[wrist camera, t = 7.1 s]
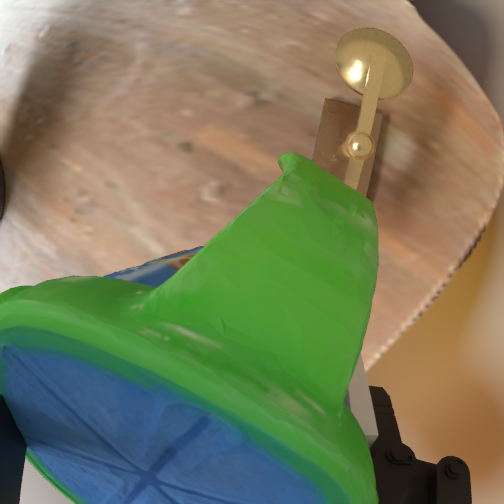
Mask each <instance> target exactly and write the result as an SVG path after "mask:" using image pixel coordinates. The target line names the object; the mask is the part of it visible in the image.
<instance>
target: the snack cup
mask: <svg viewBox="0 0 504 504" xmlns="http://www.w3.org/2000/svg"><path fill="white" fill-rule="evenodd" d="M278 163H279V166H280V168H281V169H282V171H283V174H282V176H281V177H280V178H279V179H278V180H277V181H276V182H275V183H273V184H272V185H270V186H269V187H268V188H267V189H266V190H265V191H264V192H263V193H262V194H261V195H259V196H258V197H257V198H256V199H255V200H254V201H253V202H252V203H251V204H250V205H249V206H248V207H247V208H246V209H244V210H243V211H242V212H241V213H240V214H239V215H238V216H237V217H236V218H235V219H234V220H233V221H232V222H230V223H229V224H228V225H227V226H226V227H225V228H224V229H223V230H221V231H220V232H219V233H218V234H217V235H216V236H215V237H214V238H212V239H211V240H210V241H209V242H208V243H207V244H206V245H205V246H200V247H196V248H194V249H191V250H184V251H180V252H177V253H174V254H171V255H168V256H164V257H161V258H158V259H155V260H152V261H149V262H146V263H144V264H143V265H141V266H137V267H132V268H127V269H125V270H122V271H118V272H114V273H112V274H109V275H106V276H103V277H98V276H69V277H64V278H58V279H52V280H47V281H44V282H42V283H39V284H37V285H35V286H18V287H14V288H11V289H9V290H6V291H4V292H2V293H0V394H1V395H2V396H3V398H4V400H5V402H6V404H7V406H8V408H9V410H10V412H11V414H12V416H13V418H14V420H15V422H16V425H17V427H18V428H19V430H20V431H21V433H22V435H23V437H24V439H25V442H26V445H27V451H26V457H25V458H26V459H27V460H28V461H29V462H30V463H31V465H33V467H34V468H35V469H36V470H37V471H38V472H39V473H40V474H41V475H42V476H43V477H44V478H45V479H46V480H47V481H48V482H49V483H50V484H51V485H53V486H54V487H55V488H56V489H57V490H58V491H59V492H61V493H62V494H63V495H64V496H65V497H66V498H68V499H69V500H70V501H72V502H73V503H75V504H378V502H379V499H378V494H377V491H376V480H375V473H374V467H373V461H372V457H371V454H370V450H369V446H368V442H367V438H366V436H365V434H364V432H363V430H362V428H361V426H360V424H359V423H358V421H357V419H356V418H355V416H354V415H353V413H352V412H351V410H350V409H349V407H348V406H347V405H346V404H345V403H344V399H345V396H346V393H347V390H348V386H349V383H350V381H351V378H352V376H353V373H354V371H355V368H356V365H357V362H358V359H359V356H360V353H361V350H362V345H363V340H364V336H365V333H366V329H367V325H368V322H369V318H370V312H371V305H372V299H373V295H374V291H375V287H376V279H377V270H378V257H379V256H378V225H377V219H376V215H375V210H374V206H373V204H372V202H371V201H370V200H369V199H368V198H366V197H365V196H364V195H363V194H362V193H360V192H359V191H357V190H355V189H354V188H352V187H350V186H348V185H345V184H344V183H343V182H342V181H341V180H339V179H338V178H337V177H335V176H333V175H332V174H330V173H328V172H326V171H325V170H323V169H321V168H320V167H319V166H318V165H317V164H316V163H314V162H313V161H311V160H309V159H307V158H305V157H303V156H301V155H298V154H296V153H285V154H283V155H282V156H281V157H280V158H279V159H278Z"/></svg>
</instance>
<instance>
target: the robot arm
mask: <svg viewBox="0 0 504 504" xmlns="http://www.w3.org/2000/svg"><path fill="white" fill-rule="evenodd" d="M4 198H5V184H4V175H3V170H2V166H1V163H0V219H1V216H2V212H3V207H4ZM344 403H345V404H346V405H347V406H348V407H349V409H350V410H351V412H352V413H353V415H354V416H355V418H356V419H357V421H358V423H359V424H360V426H361V428H362V430H363V432H364V434H365V436H366V438H367V442H368V446H369V450H370V454H371V457H372V461H373V467H374V473H375V480H376V491H377V494H378V499H379V502H378V504H472V497H471V482H470V472H469V468H468V466H467V465H466V463H465V462H464V461H463V460H461V459H460V458H458V457H454V456H446V457H444V458H442V459H441V460H440V461H439V463H437V464H433V463H429V462H425V461H421V460H418V459H416V457H415V454H414V452H413V451H412V450H411V449H410V447H408V446H406V445H405V444H403V443H402V441H401V437H400V433H399V429H398V425H397V421H396V418H395V416H394V410H393V408H392V404H391V399H390V396H389V395H388V394H387V393H386V391H385V390H384V389H383V388H382V387H375V386H368V381H367V378H366V373H365V368H364V364H363V360H362V356H361V353H360V356H359V359H358V362H357V365H356V368H355V371H354V373H353V376H352V378H351V381H350V383H349V386H348V390H347V393H346V396H345V399H344ZM26 451H27V445H26V442H25V439H24V437H23V435H22V433H21V431H20V430H19V428H18V427H17V425H16V422H15V420H14V418H13V416H12V414H11V412H10V410H9V408H8V406H7V404H6V402H5V400H4V398H3V396H2V395H1V394H0V504H19V502H20V491H21V483H22V476H23V469H24V462H25V457H26Z"/></svg>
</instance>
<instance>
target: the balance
mask: <svg viewBox="0 0 504 504" xmlns="http://www.w3.org/2000/svg"><path fill="white" fill-rule="evenodd" d="M335 63H336V68H337V70H338V73H339V75H340V76H341V78H342V79H343V81H344V82H345V83H346V84H347V85H348V86H349V87H350V88H351V89H353V90H354V91H355V92H357V93H359V94H361V95H363V99H362V104H361V107H357V106H354V105H350V104H346V103H342V102H338V101H334V100H330V99H326V98H325V102H324V107H323V112H322V117H321V122H320V127H319V132H318V137H317V141H316V146H315V151H314V156H313V160H312V161H313V162H314V163H316V164H317V165H318V166H319V167H320V168H321V169H323V170H325V171H326V172H328V173H330V174H332V175H333V176H335V177H337V178H338V179H339V180H341V181H342V182H343V183H344V184H345V185H348V186H350V187H352V188H354V189H355V190H357V191H359V192H360V193H362V194H363V195H364V196H365V197H366V194H367V190H368V186H369V182H370V177H371V173H372V168H373V164H374V159H375V154H376V149H377V144H378V139H379V134H380V128H381V123H382V117H383V114H381V113H378V112H375V111H376V107H377V102H378V100H384V99H390V98H393V97H396V96H398V95H399V94H401V93H402V92H403V91H404V90H405V89H406V88H407V87H408V86H409V84H410V82H411V80H412V76H413V64H412V60H411V57H410V55H409V53H408V51H407V50H406V48H405V47H404V46H403V45H402V43H401V42H400V41H398V40H397V39H396V38H395V37H393V36H392V35H390V34H389V33H386V32H384V31H382V30H379V29H375V28H358V29H355V30H352V31H350V32H348V33H347V34H345V35H344V36H343V37H342V38H341V40H340V41H339V43H338V45H337V48H336V52H335Z"/></svg>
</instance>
